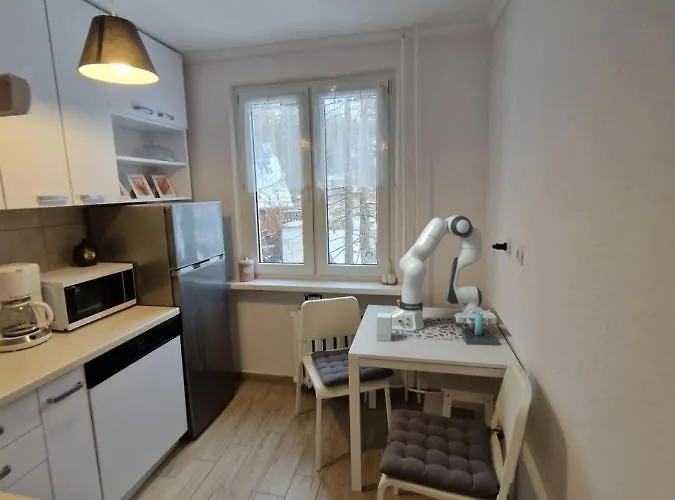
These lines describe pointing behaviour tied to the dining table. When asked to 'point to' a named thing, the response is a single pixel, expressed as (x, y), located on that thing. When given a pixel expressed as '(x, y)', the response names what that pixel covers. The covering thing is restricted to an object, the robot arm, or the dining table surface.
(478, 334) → the peg
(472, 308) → the robot arm
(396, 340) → the dining table surface
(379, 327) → the supplement box
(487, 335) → the socket block
